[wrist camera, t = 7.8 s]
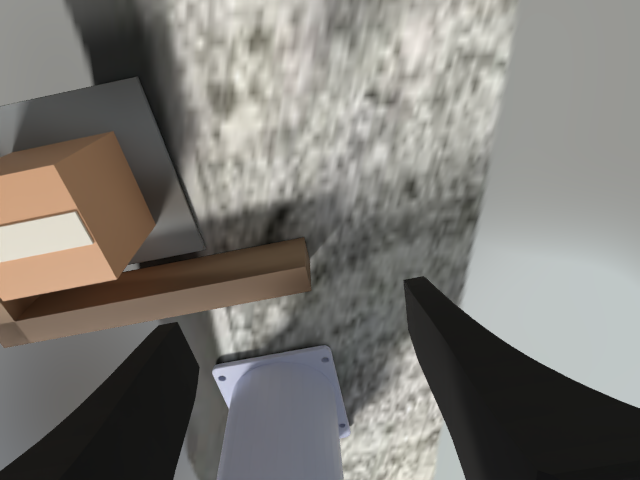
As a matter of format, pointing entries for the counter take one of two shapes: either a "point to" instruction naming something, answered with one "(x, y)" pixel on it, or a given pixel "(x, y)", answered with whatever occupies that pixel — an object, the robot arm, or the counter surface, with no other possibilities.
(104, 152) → the cube
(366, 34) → the counter surface
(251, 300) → the corner frame
